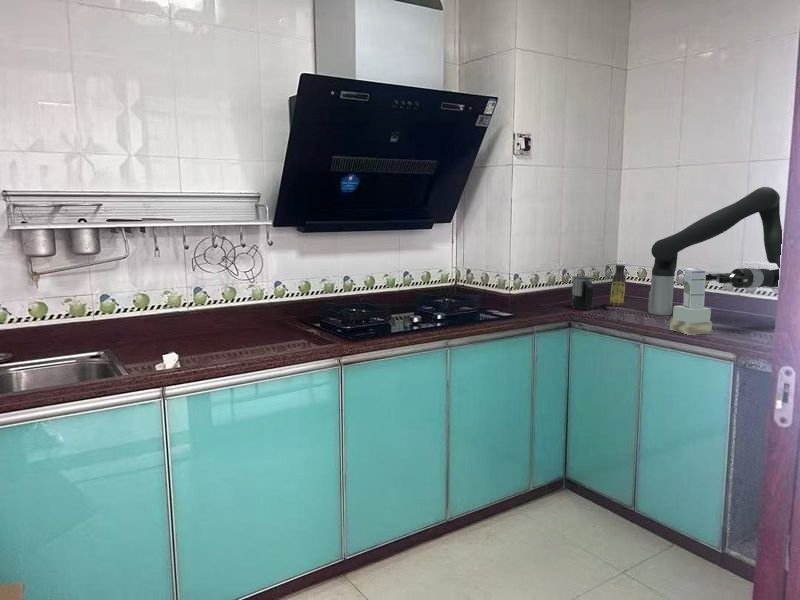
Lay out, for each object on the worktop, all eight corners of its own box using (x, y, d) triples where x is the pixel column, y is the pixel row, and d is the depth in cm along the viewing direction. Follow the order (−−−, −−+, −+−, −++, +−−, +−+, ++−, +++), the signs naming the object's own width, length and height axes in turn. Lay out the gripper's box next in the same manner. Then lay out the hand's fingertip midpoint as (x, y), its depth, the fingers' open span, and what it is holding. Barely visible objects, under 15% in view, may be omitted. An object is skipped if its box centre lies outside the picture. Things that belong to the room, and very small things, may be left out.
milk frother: (566, 307, 283) (568, 276, 281) (592, 305, 290) (594, 274, 287) (587, 312, 270) (589, 279, 268) (613, 309, 277) (615, 278, 274)
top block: (672, 318, 228) (673, 305, 228) (692, 317, 231) (693, 305, 230) (689, 323, 220) (690, 309, 219) (710, 322, 222) (711, 308, 221)
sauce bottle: (609, 306, 287) (612, 264, 284) (609, 304, 293) (612, 263, 290) (624, 306, 285) (626, 265, 282) (624, 305, 291) (626, 264, 288)
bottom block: (669, 331, 229) (670, 318, 229) (690, 329, 232) (691, 317, 232) (689, 336, 220) (690, 323, 219) (711, 335, 223) (712, 321, 222)
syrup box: (704, 308, 222) (707, 269, 220) (688, 308, 222) (690, 269, 220) (697, 305, 228) (700, 267, 225) (681, 305, 228) (684, 267, 226)
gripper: (733, 266, 236) (698, 267, 232) (762, 270, 222) (726, 271, 219) (731, 285, 237) (696, 286, 233) (760, 290, 224) (724, 291, 220)
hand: (711, 279), depth 226 cm, fingers open, 8 cm apart
